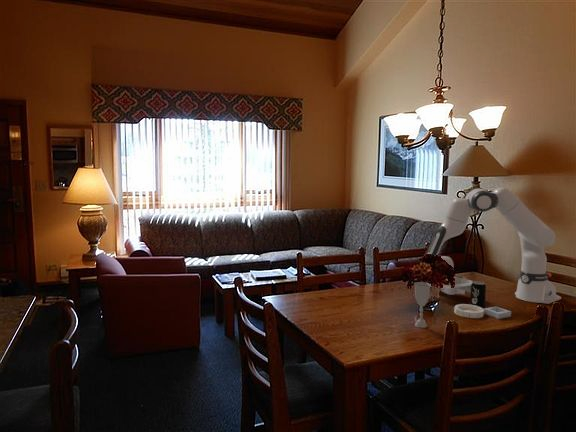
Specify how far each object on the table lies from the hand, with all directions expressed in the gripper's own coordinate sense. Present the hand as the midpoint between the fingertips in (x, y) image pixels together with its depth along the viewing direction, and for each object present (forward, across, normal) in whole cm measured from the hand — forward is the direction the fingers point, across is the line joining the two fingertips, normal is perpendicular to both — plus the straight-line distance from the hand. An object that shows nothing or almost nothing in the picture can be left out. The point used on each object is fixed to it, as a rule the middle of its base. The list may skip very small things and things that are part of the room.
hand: (472, 291), depth 217 cm
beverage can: (+3, 0, +7) cm, 8 cm away
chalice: (+13, -43, +7) cm, 45 cm away
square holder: (+16, -2, +6) cm, 18 cm away
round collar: (+10, -12, +6) cm, 17 cm away
